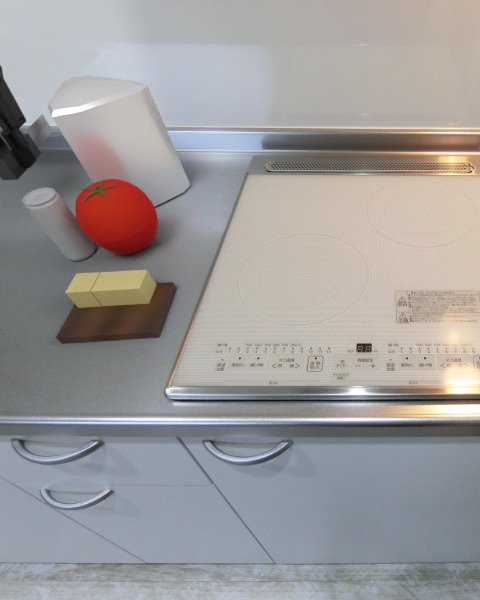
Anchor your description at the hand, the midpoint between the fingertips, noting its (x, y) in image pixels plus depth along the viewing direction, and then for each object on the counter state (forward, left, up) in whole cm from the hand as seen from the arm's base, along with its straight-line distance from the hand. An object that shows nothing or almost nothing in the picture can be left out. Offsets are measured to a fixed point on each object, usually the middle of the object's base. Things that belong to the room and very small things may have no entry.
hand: (21, 164), depth 80 cm
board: (+24, -31, -9) cm, 40 cm away
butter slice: (+20, -28, -7) cm, 35 cm away
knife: (0, +4, 0) cm, 4 cm away
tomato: (+21, -15, -9) cm, 27 cm away
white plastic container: (+18, 0, -9) cm, 20 cm away
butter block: (+25, -28, -7) cm, 39 cm away
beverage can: (+12, -16, -9) cm, 22 cm away
